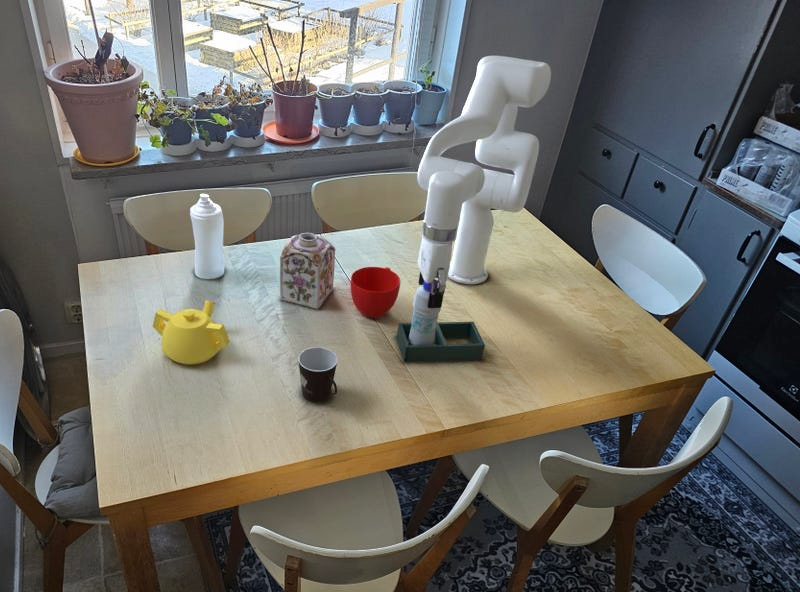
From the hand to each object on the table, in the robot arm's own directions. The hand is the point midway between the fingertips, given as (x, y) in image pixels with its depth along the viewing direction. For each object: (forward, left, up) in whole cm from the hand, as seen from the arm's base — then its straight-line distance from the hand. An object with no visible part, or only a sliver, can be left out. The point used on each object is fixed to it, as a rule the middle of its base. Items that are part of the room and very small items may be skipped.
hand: (429, 295), depth 149 cm
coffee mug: (+17, -28, -16) cm, 36 cm away
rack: (0, +4, -16) cm, 16 cm away
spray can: (-38, -54, -16) cm, 67 cm away
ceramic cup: (-19, -9, -16) cm, 26 cm away
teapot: (-4, -56, -16) cm, 58 cm away
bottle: (0, 0, -16) cm, 16 cm away
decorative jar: (-26, -27, -16) cm, 40 cm away
